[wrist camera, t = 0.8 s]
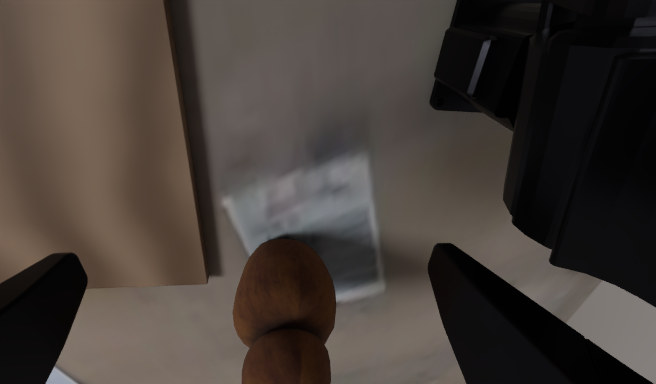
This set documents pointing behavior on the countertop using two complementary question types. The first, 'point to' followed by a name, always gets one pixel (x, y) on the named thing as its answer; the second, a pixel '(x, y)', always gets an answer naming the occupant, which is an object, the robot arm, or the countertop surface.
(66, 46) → the light brown wooden board
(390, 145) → the countertop surface
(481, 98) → the robot arm
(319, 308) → the wooden figurine
